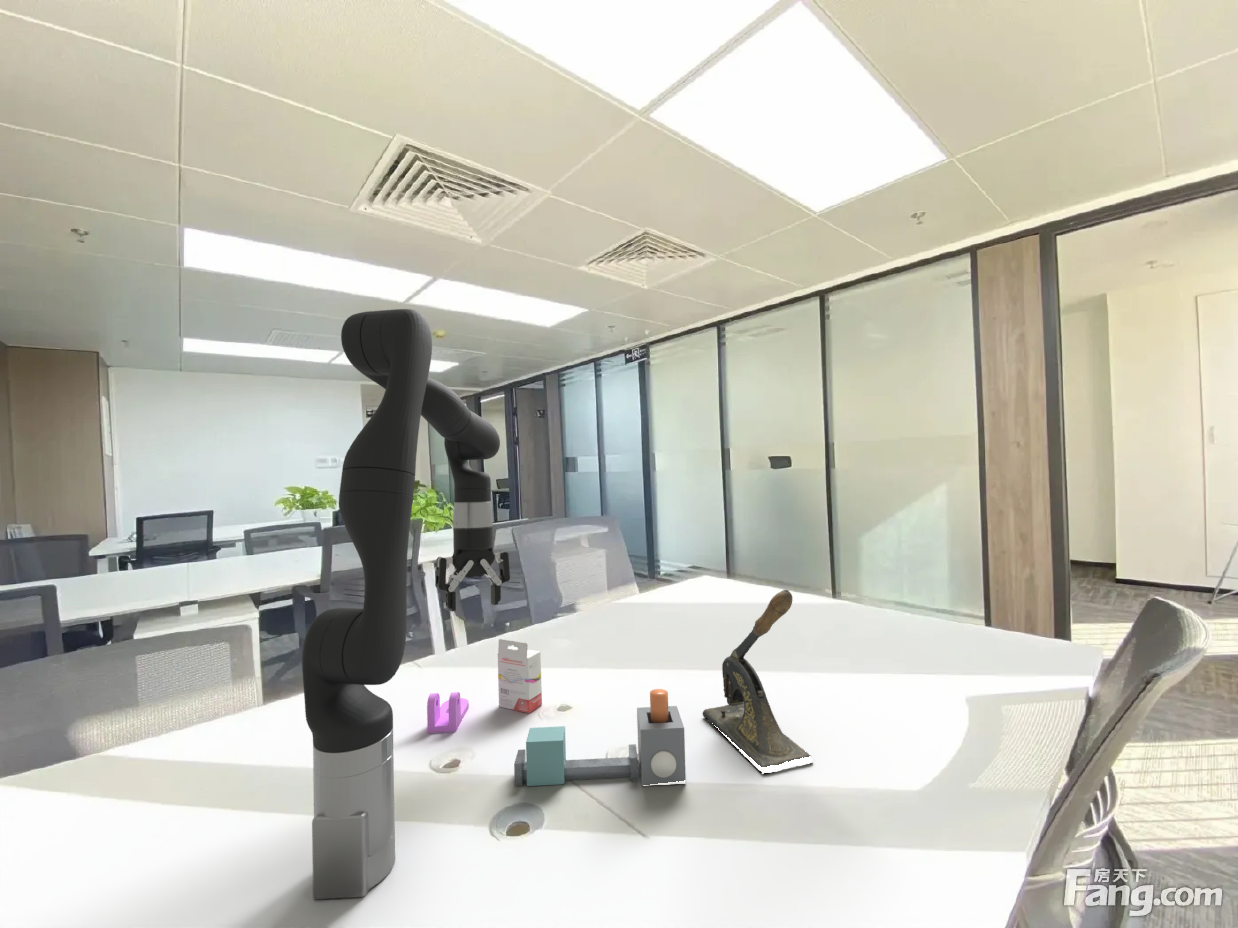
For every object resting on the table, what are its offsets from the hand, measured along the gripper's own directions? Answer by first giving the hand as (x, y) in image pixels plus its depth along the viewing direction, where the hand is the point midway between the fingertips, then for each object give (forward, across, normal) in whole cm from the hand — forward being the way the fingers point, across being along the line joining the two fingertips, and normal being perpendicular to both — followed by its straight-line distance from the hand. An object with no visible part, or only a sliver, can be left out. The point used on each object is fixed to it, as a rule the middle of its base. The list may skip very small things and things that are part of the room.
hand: (474, 607), depth 104 cm
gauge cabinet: (+25, +20, -32) cm, 45 cm away
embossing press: (+25, +41, -34) cm, 59 cm away
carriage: (+25, +4, -22) cm, 33 cm away
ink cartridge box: (+24, +12, +6) cm, 28 cm away
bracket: (+25, -2, +10) cm, 27 cm away
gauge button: (+16, +20, -32) cm, 41 cm away
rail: (+25, +9, -24) cm, 36 cm away
